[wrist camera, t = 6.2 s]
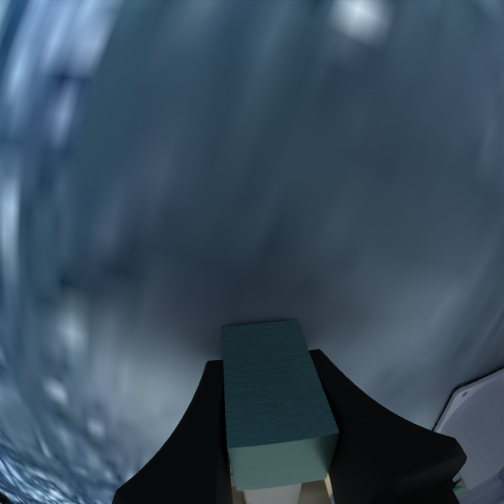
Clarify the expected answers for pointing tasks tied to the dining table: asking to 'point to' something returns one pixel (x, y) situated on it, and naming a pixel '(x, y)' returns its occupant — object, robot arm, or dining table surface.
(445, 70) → the dining table surface
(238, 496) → the cradle
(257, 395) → the shaft
